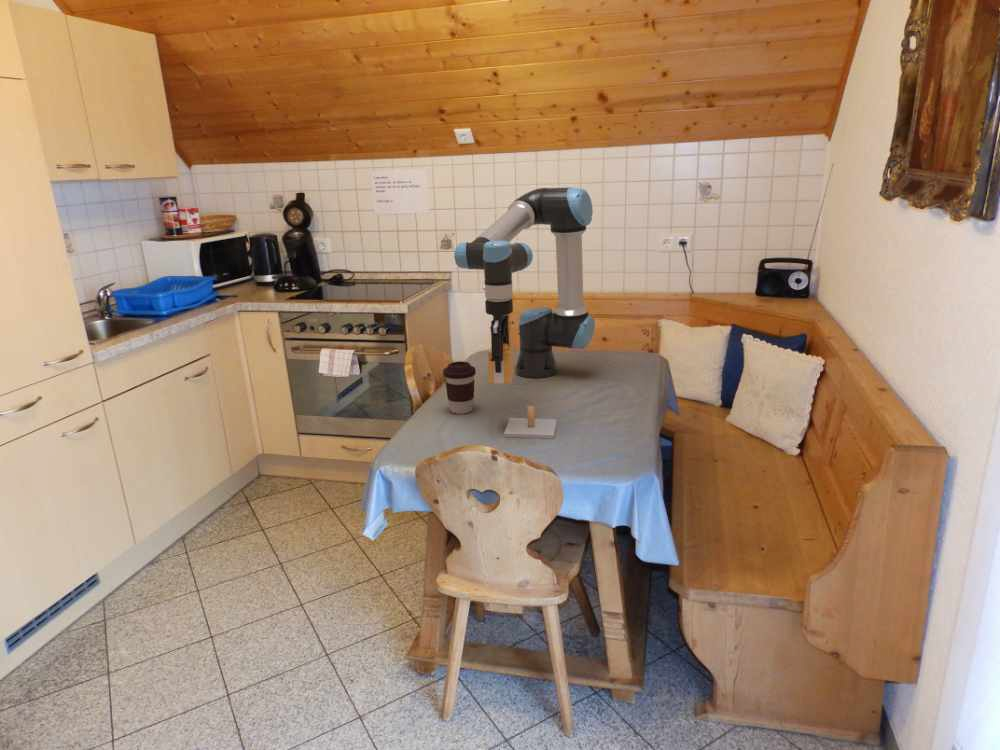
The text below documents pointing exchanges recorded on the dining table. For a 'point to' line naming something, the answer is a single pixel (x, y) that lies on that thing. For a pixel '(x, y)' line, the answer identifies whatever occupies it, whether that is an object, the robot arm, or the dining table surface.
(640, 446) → the dining table surface
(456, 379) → the coffee cup
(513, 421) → the white pegged board
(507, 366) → the orange toy brick
